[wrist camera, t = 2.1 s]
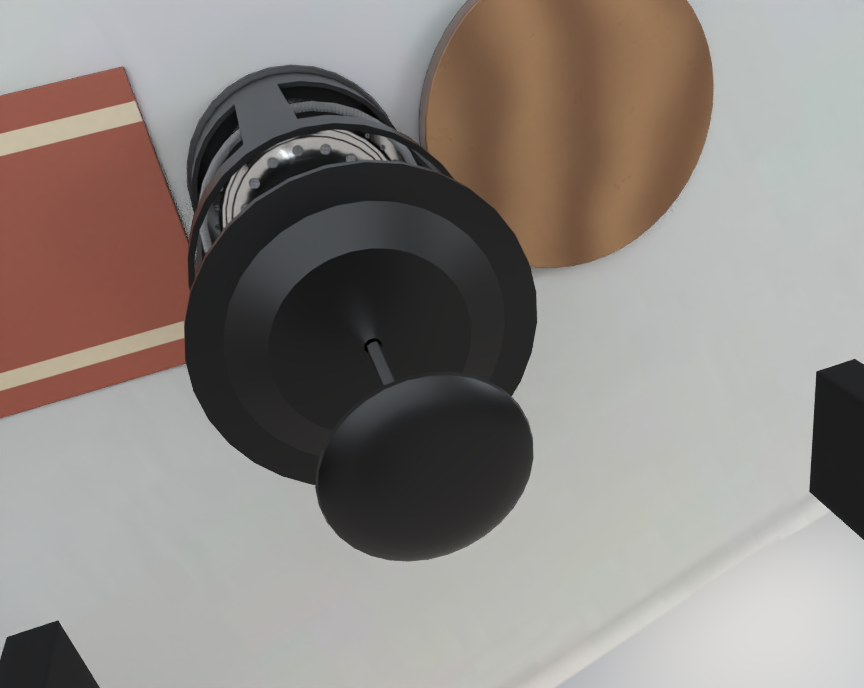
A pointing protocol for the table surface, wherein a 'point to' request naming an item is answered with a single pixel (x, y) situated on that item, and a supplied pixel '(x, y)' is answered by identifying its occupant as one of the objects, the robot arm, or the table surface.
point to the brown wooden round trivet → (570, 116)
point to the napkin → (84, 244)
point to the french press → (356, 315)
